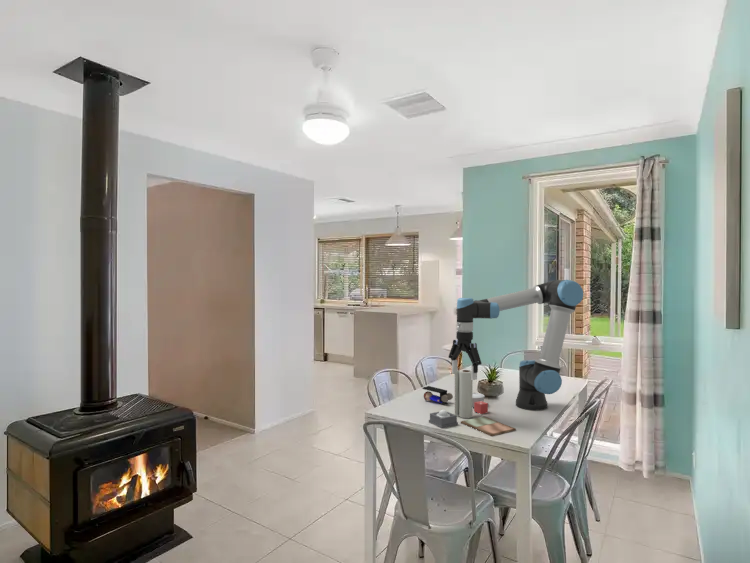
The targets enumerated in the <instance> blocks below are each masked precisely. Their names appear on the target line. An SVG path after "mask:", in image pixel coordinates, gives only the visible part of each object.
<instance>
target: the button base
mask: <svg viewBox="0 0 750 563" xmlns="http://www.w3.org/2000/svg"><path fill="white" fill-rule="evenodd" d="M438 413H439V411H434V412H430V413H429V419H428V423H430V424H431V425H434V426H436V427H438V428H440V429H444V428H449V427H453V426H458V425H459V422H458V416H457V415H455V413H451V412H449V411H447V413H448V414H450V416H448V417H443V418H441V417H439V416H437V415H436V414H438Z"/></svg>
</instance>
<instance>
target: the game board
mask: <svg viewBox="0 0 750 563" xmlns="http://www.w3.org/2000/svg"><path fill="white" fill-rule="evenodd" d="M460 424H461V425H463V426H466V425H467V426H466V427H469V428H471V427H472V428H471V429H473V428H474V430H475V429H477V430H476V431H478V432H480V431H481V432H480V433H482V432H483V434H485V435H486V436H487V435H488V436H490V437H494V436H498V435H502V434H507V433H510V432H511V433H512V432H515V431H517V429H516V427H513V426H510V425H507V424H505V423H503V422H500V421H497V420H495V419H492V418H489V417H486V416H479V417H475V418H474V417H473V418H468V419H464V420H460Z"/></svg>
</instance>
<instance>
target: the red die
mask: <svg viewBox="0 0 750 563" xmlns="http://www.w3.org/2000/svg"><path fill="white" fill-rule="evenodd" d="M488 405H489V402H485V401H484V402H482V401H479V402H474V408H473V411H475V412H474V413H476V412H477V414H479V413H480V414H479V415H484V414H488V413H489V406H488ZM483 413H484V414H483Z"/></svg>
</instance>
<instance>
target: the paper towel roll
mask: <svg viewBox="0 0 750 563" xmlns="http://www.w3.org/2000/svg"><path fill="white" fill-rule="evenodd" d="M473 381H474V380H471V370H470V369H460V370H457V371H455V374H454V415H457V417H458V416H459V417H460V418H463V419H473V408H472V392H473Z"/></svg>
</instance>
